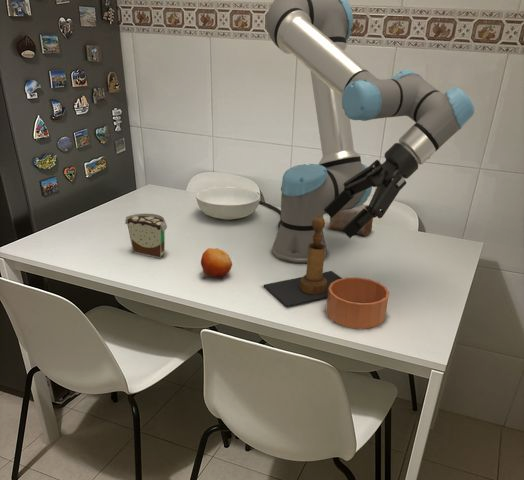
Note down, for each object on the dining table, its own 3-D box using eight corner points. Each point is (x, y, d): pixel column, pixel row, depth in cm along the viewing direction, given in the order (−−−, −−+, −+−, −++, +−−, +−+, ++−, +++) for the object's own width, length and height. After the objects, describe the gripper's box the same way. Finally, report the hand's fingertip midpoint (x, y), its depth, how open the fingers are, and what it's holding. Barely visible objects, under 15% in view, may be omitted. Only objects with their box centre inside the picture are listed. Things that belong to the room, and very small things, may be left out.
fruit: (194, 263, 136) (209, 238, 133) (220, 277, 139) (235, 253, 135) (193, 277, 129) (208, 251, 126) (220, 291, 132) (236, 266, 129)
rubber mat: (263, 286, 129) (263, 284, 128) (331, 272, 136) (331, 270, 136) (286, 307, 120) (286, 305, 120) (357, 291, 128) (358, 289, 127)
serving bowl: (259, 227, 164) (259, 205, 160) (193, 225, 164) (192, 204, 160) (260, 206, 182) (260, 186, 178) (200, 204, 182) (199, 185, 178)
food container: (177, 251, 146) (175, 217, 141) (165, 259, 142) (162, 224, 136) (141, 244, 150) (138, 210, 145) (128, 251, 146) (124, 216, 140)
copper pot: (315, 306, 121) (317, 283, 117) (362, 296, 126) (365, 273, 122) (348, 333, 111) (351, 309, 107) (397, 320, 116) (401, 297, 113)
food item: (324, 229, 164) (327, 198, 158) (334, 222, 170) (337, 191, 164) (364, 237, 158) (369, 206, 153) (374, 230, 164) (378, 199, 158)
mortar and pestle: (324, 296, 124) (331, 223, 114) (298, 293, 125) (302, 220, 115) (327, 284, 129) (334, 213, 119) (301, 281, 130) (306, 211, 120)
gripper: (444, 181, 105) (364, 254, 111) (395, 153, 126) (330, 216, 131) (425, 154, 101) (343, 232, 107) (377, 130, 122) (311, 196, 127)
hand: (336, 223), depth 119 cm, fingers open, 13 cm apart
